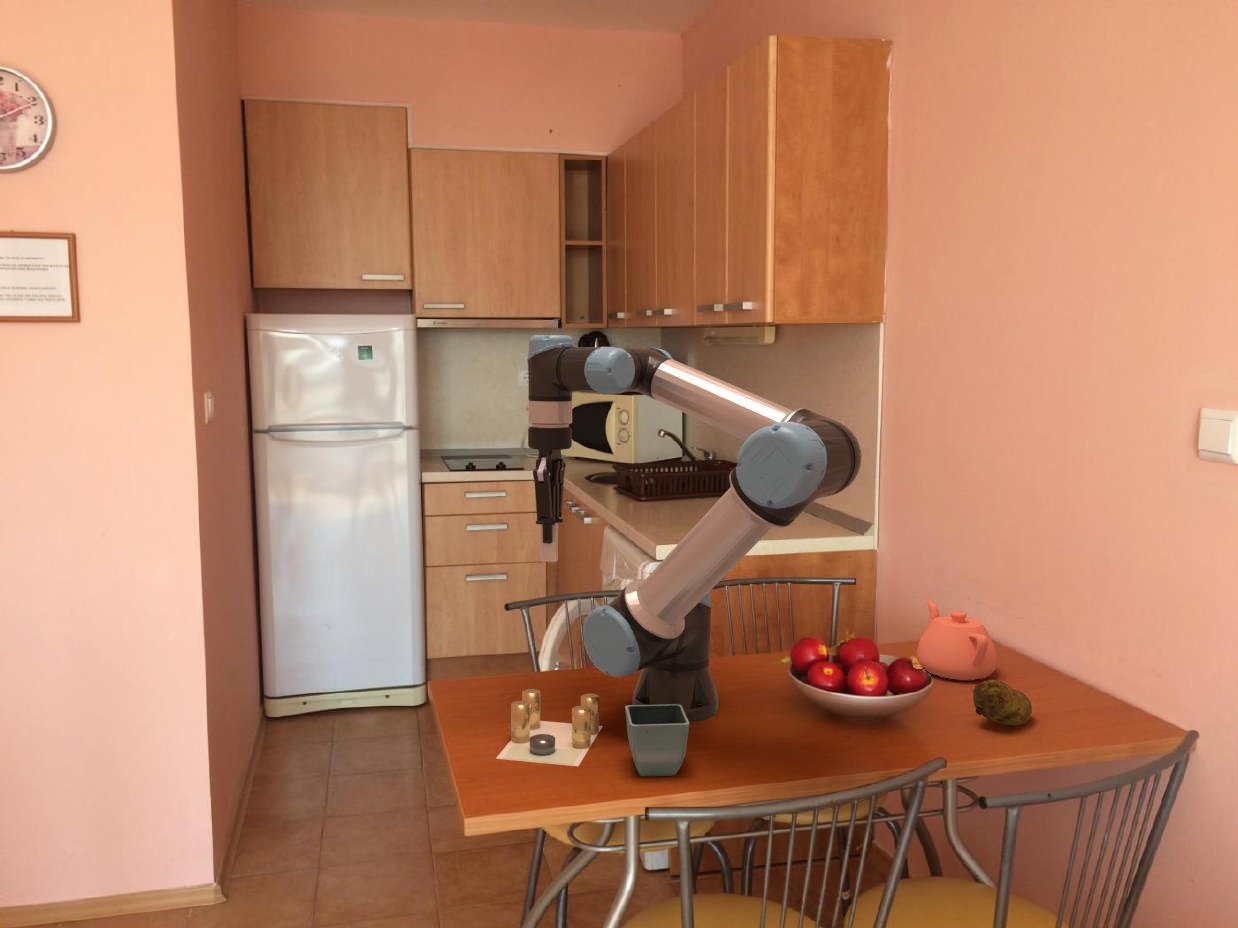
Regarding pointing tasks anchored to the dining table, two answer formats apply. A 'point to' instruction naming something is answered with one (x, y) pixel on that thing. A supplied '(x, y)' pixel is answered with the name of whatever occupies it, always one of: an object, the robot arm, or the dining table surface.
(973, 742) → the dining table surface
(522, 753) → the board
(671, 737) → the flower pot
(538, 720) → the cylinder
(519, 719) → the cylinder
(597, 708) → the cylinder
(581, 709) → the cylinder
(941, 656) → the teapot
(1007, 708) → the potato
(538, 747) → the dark metal puck
